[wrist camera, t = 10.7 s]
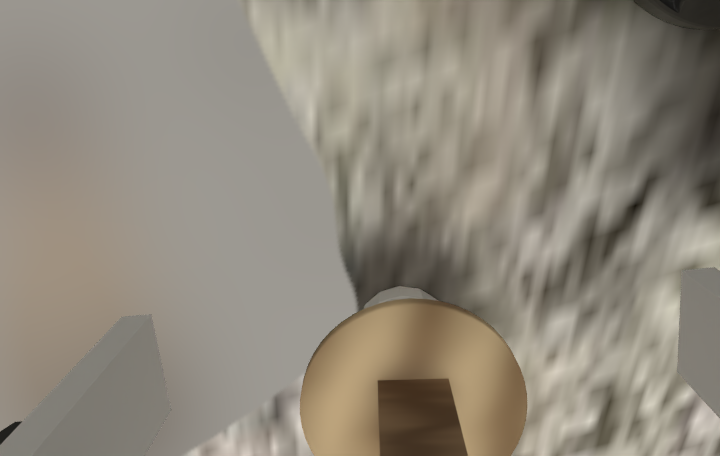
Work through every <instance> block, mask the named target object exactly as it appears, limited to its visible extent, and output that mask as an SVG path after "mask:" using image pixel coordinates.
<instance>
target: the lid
mask: <svg viewBox="0 0 720 456" xmlns="http://www.w3.org/2000/svg"><path fill="white" fill-rule="evenodd" d="M526 414H527V392H526V387H525V381H524V378H523V375H522V372H521V370H520V367H519V365H518V363H517V361H516V359H515V357H514V355H513V353H512V351H511V349H510V348H509V346H508V345H507V344H506V342H505V341H504V339H503V338H502V337H501V336H500V335H499V334H498V333H497V332H496V330H495V329H494V328H493V327H491V326H490V325H489V324H488V323H486V322H485V321H484V320H483V319H481V318H480V317H478V316H476V315H475V314H473V313H471V312H469V311H467V310H465V309H463V308H460V307H458V306H456V305H452V304H449V303H445V302H442V301H436V300H430V299H414V298H410V299H399V300H392V301H388V302H383V303H379V304H376V305H373V306H370V307H368V308H365V309H363V310H361V311H359V312H357V313H355V314H353V315H352V316H350V317H349V318H347V319H346V320H344V321H343V322H341V323H340V324H339V325H338V326H337V327H335V328H334V329H333V330H332V331H331V332H330V333H329V334H328V335H327V336H326V337H325V338H324V339H323V341H322V342H321V343H320V345H319V346H318V348H317V349H316V351H315V352H314V354H313V356H312V358H311V360H310V362H309V364H308V366H307V370H306V373H305V376H304V380H303V386H302V392H301V398H300V416H301V423H302V428H303V431H304V435H305V438H306V440H307V443H308V445H309V447H310V449H311V451H312V453H313V454H314V456H511V454H512V453H513V451H514V449H515V448H516V446H517V444H518V442H519V440H520V437H521V435H522V432H523V429H524V425H525V421H526Z"/></svg>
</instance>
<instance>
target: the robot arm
mask: <svg viewBox="0 0 720 456" xmlns="http://www.w3.org/2000/svg"><path fill="white" fill-rule="evenodd" d="M634 1H635V2H636V3H637V4H638V5H639V6H640V7H642V8H643V9H644V10H646V11H647V12H649V13H650V14H652V15H653V16H655V17H657V18H659V19H661V20H663V21H665V22H667V23H670V24H673V25H676V26H680V27H685V28H691V29H701V30H711V29H720V0H634ZM677 372H678V373H679V374H680V376H681V377H682V378H683V379H684V380H685V381H686V382H687V383H688V384H689V385H690V386H691V388H692V389H693V390H694V391H695V392H696V393H697V394H698V395H699V396H700V397H701V398H702V399H703V401H704V402H705V403H706V404H707V405H708V406H709V407H710V408H711V409H712V410H713V411H714V413H715V414H716V415H717V416H718V417H719V418H720V271H719V270H718V269H716V268H715V267H714V268H702V269H690V270H682V278H681V300H680V321H679V343H678V364H677ZM170 411H171V405H170V401H169V396H168V391H167V386H166V382H165V377H164V372H163V368H162V363H161V359H160V354H159V349H158V344H157V340H156V335H155V330H154V325H153V321H152V316H151V314H149V315H137V316H125V317H121V318H120V319H119V320H118V321H117V322H116V323H115V324H114V326H113V327H112V328H111V329H110V330H109V331H108V332H107V333H106V334H105V335H104V336H103V337H102V338H101V339H100V340H99V342H97V344H96V345H95V346H94V347H93V348H92V349H91V350H90V351H89V352H88V353H87V354H86V355H85V356H84V357H83V358H82V359H81V360H80V361H79V362H78V363H77V365H76V366H75V367H74V368H73V369H72V370H71V371H70V372H69V373H68V374H67V375H66V376H65V377H64V378H63V379H62V380H61V382H59V384H58V385H57V386H56V387H55V388H54V389H53V390H52V391H51V392H50V393H49V394H48V395H47V396H46V397H45V398H44V399H43V400H42V401H41V402H40V404H39V405H38V406H37V407H36V408H35V409H34V410H33V411H32V412H31V413H30V414H29V415H28V416H27V417H26V418H25V419H24V421H22V422H15V423H13V424H11V425H10V426H8V427H7V428H5V429H4V430H2V431H1V432H0V456H145V455H146V453H147V452H148V450H149V448H150V446H151V445H152V443H153V441H154V439H155V437H156V436H157V434H158V432H159V431H160V429H161V427H162V425H163V424H164V422H165V420H166V418H167V416H168V415H169V413H170Z"/></svg>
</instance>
